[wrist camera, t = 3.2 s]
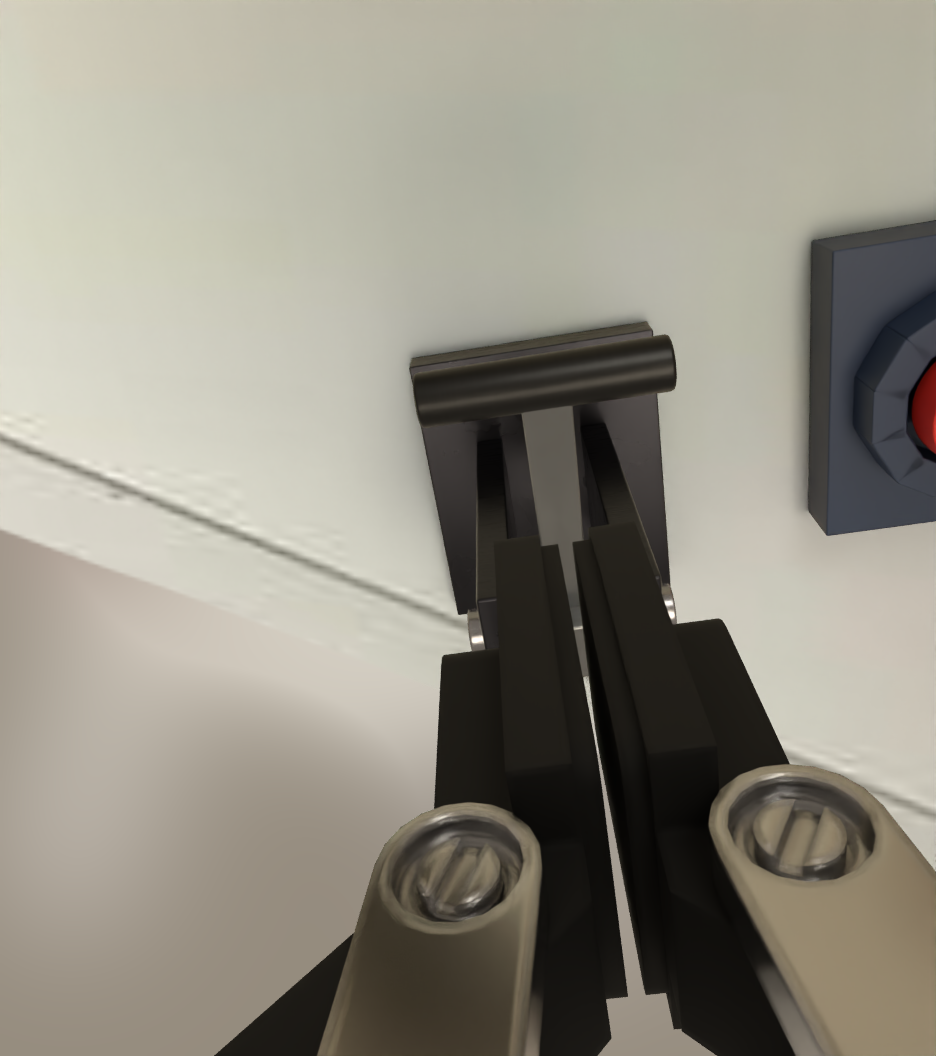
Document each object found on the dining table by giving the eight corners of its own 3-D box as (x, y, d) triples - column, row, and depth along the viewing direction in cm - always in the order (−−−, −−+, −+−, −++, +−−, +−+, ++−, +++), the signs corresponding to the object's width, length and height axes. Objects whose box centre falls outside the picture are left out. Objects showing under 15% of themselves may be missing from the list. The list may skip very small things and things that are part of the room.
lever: (410, 344, 20) (413, 420, 18) (661, 304, 19) (684, 379, 18) (482, 623, 29) (488, 689, 27) (655, 600, 28) (670, 666, 27)
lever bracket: (411, 358, 34) (377, 502, 23) (647, 321, 34) (733, 450, 22) (458, 600, 39) (450, 818, 28) (665, 573, 39) (744, 784, 27)
